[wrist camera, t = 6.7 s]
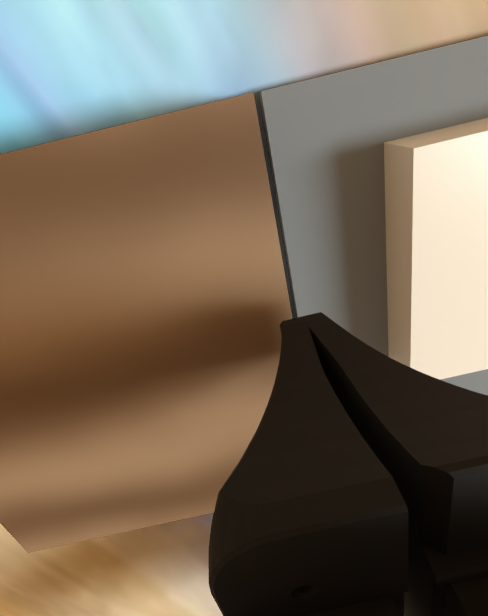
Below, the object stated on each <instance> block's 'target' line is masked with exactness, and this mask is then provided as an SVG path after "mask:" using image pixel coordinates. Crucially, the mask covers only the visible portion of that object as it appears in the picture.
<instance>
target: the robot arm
mask: <svg viewBox="0 0 488 616" xmlns="http://www.w3.org/2000/svg"><path fill="white" fill-rule="evenodd" d="M280 330H281V336H282V339H281V352H280V359H279V365H278V370H277V374H276V378H275V383H274V386H273V390H272V393H271V396H270V399H269V402H268V404H267V407H266V409H265V412H264V414H263V417H262V419H261V421H260V424H259V426H258V428H257V430H256V432H255V434H254V436H253V438H252V440H251V441H250V443H249V445H248V447H247V449H246V451H245V452H244V454H243V456H242V458H241V459H240V461H239V463H238V464H237V466H236V467H235V469H234V470H233V472H232V473H231V475H230V476H229V478H228V479H227V481H226V482H225V484H224V485H223V487H222V488H221V489H220V491H219V493H218V497H217V501H216V506H215V510H214V515H213V520H212V526H211V533H210V543H209V586H210V590H211V594H212V596H213V598H214V599H215V601H216V603H217V605H218V607H219V609H220V610H221V612H222V614H223V616H488V395H484V394H481V393H477V392H474V391H471V390H468V389H465V388H462V387H459V386H456V385H453V384H450V383H448V382H445V381H442V380H439V379H437V378H434V377H431V376H429V375H427V374H424V373H422V372H419V371H417V370H415V369H413V368H411V367H408V366H406V365H404V364H402V363H400V362H398V361H396V360H394V359H392V358H390V357H388V356H386V355H384V354H383V353H381V352H379V351H377V350H375V349H374V348H372V347H371V346H369V345H367V344H366V343H364V342H363V341H361V340H360V339H358V338H357V337H355V336H354V335H352V334H351V333H349V332H348V331H346V330H345V329H344V328H342V327H341V326H339V325H338V324H337V323H335V322H334V321H333V320H331V319H330V318H329V317H327V316H326V315H325V314H323V313H322V312H319V313H315V314H311V315H306V316H302V317H298V318H293V319H289V320H285V321H282V322H281V324H280Z"/></svg>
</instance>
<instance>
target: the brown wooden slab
mask: <svg viewBox="0 0 488 616" xmlns="http://www.w3.org/2000/svg"><path fill="white" fill-rule="evenodd" d="M289 319H293V318H292V312H291V307H290V301H289V295H288V289H287V283H286V278H285V272H284V266H283V260H282V254H281V248H280V243H279V237H278V231H277V225H276V219H275V214H274V208H273V202H272V196H271V190H270V185H269V179H268V173H267V167H266V161H265V156H264V150H263V144H262V138H261V132H260V127H259V121H258V115H257V109H256V103H255V97H254V92H252V93H248V94H244V95H240V96H236V97H232V98H228V99H224V100H220V101H216V102H212V103H208V104H203V105H199V106H195V107H191V108H187V109H183V110H179V111H175V112H171V113H167V114H163V115H159V116H155V117H150V118H146V119H142V120H138V121H134V122H130V123H126V124H122V125H118V126H114V127H110V128H106V129H102V130H97V131H93V132H89V133H85V134H81V135H77V136H73V137H69V138H65V139H61V140H57V141H53V142H49V143H44V144H40V145H36V146H32V147H28V148H24V149H20V150H16V151H12V152H8V153H4V154H0V523H1V524H2V525H3V526H4V528H5V529H6V530H7V531H8V532H9V533H10V534H11V535H12V536H13V537H14V538H15V539H16V540H17V541H18V542H19V544H20V545H21V546H22V547H23V548H24V549H25V550H26V551H27V552H28V553H30V552H34V551H39V550H44V549H48V548H53V547H58V546H62V545H67V544H71V543H76V542H81V541H85V540H90V539H95V538H99V537H104V536H108V535H113V534H118V533H122V532H127V531H132V530H136V529H141V528H146V527H150V526H155V525H159V524H164V523H169V522H173V521H178V520H183V519H187V518H192V517H196V516H201V515H206V514H210V513H214V510H215V506H216V501H217V497H218V493H219V491H220V489H221V488H222V487H223V485H224V484H225V482H226V481H227V479H228V478H229V476H230V475H231V473H232V472H233V470H234V469H235V467H236V466H237V464H238V463H239V461H240V459H241V458H242V456H243V454H244V452H245V451H246V449H247V447H248V445H249V443H250V441H251V440H252V438H253V436H254V434H255V432H256V430H257V428H258V426H259V424H260V421H261V419H262V417H263V414H264V412H265V409H266V407H267V404H268V402H269V399H270V396H271V393H272V390H273V386H274V383H275V378H276V374H277V370H278V365H279V359H280V352H281V339H282V336H281V330H280V324H281V322H282V321H285V320H289Z"/></svg>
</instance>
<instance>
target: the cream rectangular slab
mask: <svg viewBox="0 0 488 616" xmlns="http://www.w3.org/2000/svg"><path fill="white" fill-rule="evenodd" d="M384 172H385V217H386V262H387V307H388V352H389V357H390V358H392V359H394V360H396V361H398V362H400V363H402V364H404V365H406V366H408V367H411V368H413V369H415V370H417V371H419V372H422V373H424V374H427V375H429V376H431V377H434V378H437V379H439V380H441V379H445V378H450V377H454V376H459V375H463V374H468V373H472V372H477V371H481V370H486V369H488V118H484V119H480V120H476V121H472V122H468V123H463V124H459V125H455V126H451V127H447V128H443V129H438V130H434V131H430V132H426V133H422V134H418V135H413V136H409V137H405V138H401V139H397V140H393V141H388V142H384Z"/></svg>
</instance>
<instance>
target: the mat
mask: <svg viewBox="0 0 488 616" xmlns="http://www.w3.org/2000/svg"><path fill="white" fill-rule="evenodd" d="M259 98H260V104H261V110H262V116H263V122H264V128H265V134H266V140H267V146H268V152H269V158H270V164H271V170H272V176H273V182H274V188H275V194H276V200H277V206H278V212H279V218H280V224H281V230H282V236H283V242H284V248H285V254H286V260H287V266H288V272H289V278H290V284H291V290H292V296H293V302H294V308H295V314H296V318H298V317H302V316H306V315H311V314H315V313H319V312H322V313H323V314H325V315H326V316H327V317H329V318H330V319H331V320H333V321H334V322H335V323H337V324H338V325H339V326H341V327H342V328H344V329H345V330H346V331H348V332H349V333H351V334H352V335H354V336H355V337H357V338H358V339H360V340H361V341H363V342H364V343H366V344H367V345H369V346H371V347H372V348H374V349H375V350H377V351H379V352H381V353H383V354H384V355H386V356H388V357H389V352H388V307H387V262H386V217H385V172H384V142H388V141H393V140H397V139H401V138H405V137H409V136H413V135H418V134H422V133H426V132H430V131H434V130H438V129H443V128H447V127H451V126H455V125H459V124H463V123H468V122H472V121H476V120H480V119H484V118H488V36H484V37H480V38H476V39H472V40H468V41H464V42H459V43H455V44H451V45H447V46H443V47H439V48H435V49H431V50H427V51H423V52H419V53H415V54H410V55H406V56H402V57H398V58H394V59H390V60H386V61H382V62H378V63H374V64H370V65H366V66H362V67H357V68H353V69H349V70H345V71H341V72H337V73H333V74H329V75H325V76H321V77H317V78H313V79H309V80H304V81H300V82H296V83H292V84H288V85H284V86H280V87H276V88H272V89H268V90H264V91H260V92H259ZM441 380H442V381H445V382H448V383H450V384H453V385H456V386H459V387H462V388H465V389H468V390H471V391H474V392H477V393H481V394H484V395H488V369H486V370H481V371H477V372H472V373H468V374H463V375H459V376H454V377H450V378H445V379H441Z"/></svg>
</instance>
